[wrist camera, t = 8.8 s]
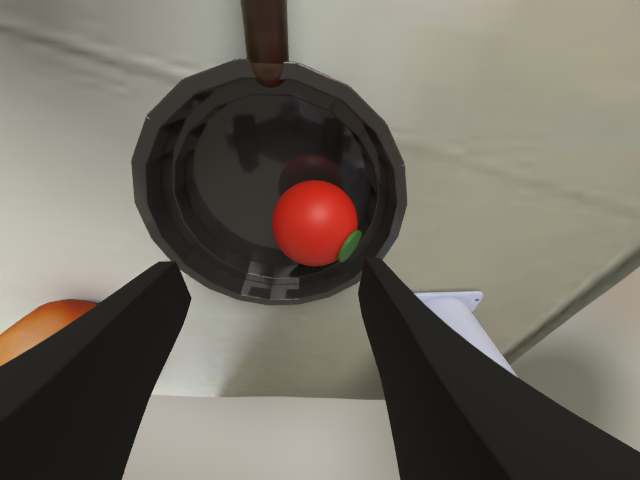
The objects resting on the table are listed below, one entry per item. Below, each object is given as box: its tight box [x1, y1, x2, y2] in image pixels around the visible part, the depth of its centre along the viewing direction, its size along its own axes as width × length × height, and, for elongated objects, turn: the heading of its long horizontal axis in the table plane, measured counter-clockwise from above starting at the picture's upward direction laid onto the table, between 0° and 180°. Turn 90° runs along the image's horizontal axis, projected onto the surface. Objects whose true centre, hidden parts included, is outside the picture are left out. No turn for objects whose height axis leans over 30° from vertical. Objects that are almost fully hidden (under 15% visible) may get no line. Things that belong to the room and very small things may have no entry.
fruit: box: [0, 299, 98, 366], centre depth 19 cm, size 8×8×8 cm
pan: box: [131, 59, 407, 305], centre depth 14 cm, size 14×14×4 cm
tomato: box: [272, 180, 362, 266], centre depth 14 cm, size 5×5×5 cm
